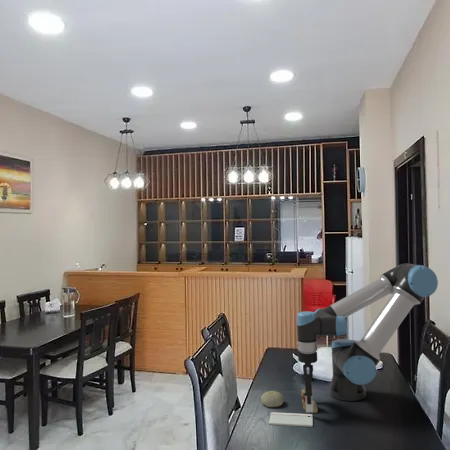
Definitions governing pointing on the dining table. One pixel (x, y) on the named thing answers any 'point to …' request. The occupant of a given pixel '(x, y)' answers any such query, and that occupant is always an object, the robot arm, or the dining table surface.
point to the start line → (291, 414)
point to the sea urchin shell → (272, 399)
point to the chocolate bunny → (305, 402)
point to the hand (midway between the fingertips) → (309, 404)
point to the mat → (291, 420)
